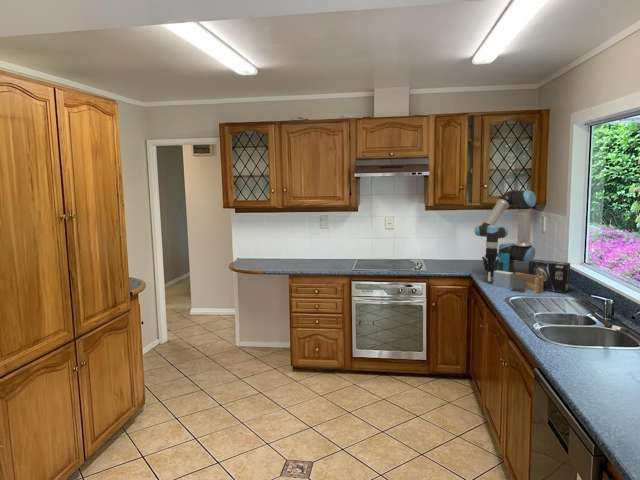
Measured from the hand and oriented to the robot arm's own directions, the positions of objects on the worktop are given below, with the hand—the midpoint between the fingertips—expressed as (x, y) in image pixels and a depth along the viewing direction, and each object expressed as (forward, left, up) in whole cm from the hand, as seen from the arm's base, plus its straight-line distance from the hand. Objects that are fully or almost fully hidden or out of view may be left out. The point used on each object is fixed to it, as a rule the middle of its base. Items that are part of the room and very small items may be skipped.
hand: (490, 281), depth 323 cm
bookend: (+6, +23, -2) cm, 24 cm away
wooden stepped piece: (0, +25, -2) cm, 25 cm away
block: (-12, 0, -2) cm, 12 cm away
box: (-13, +34, -2) cm, 37 cm away
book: (0, +10, -2) cm, 10 cm away
